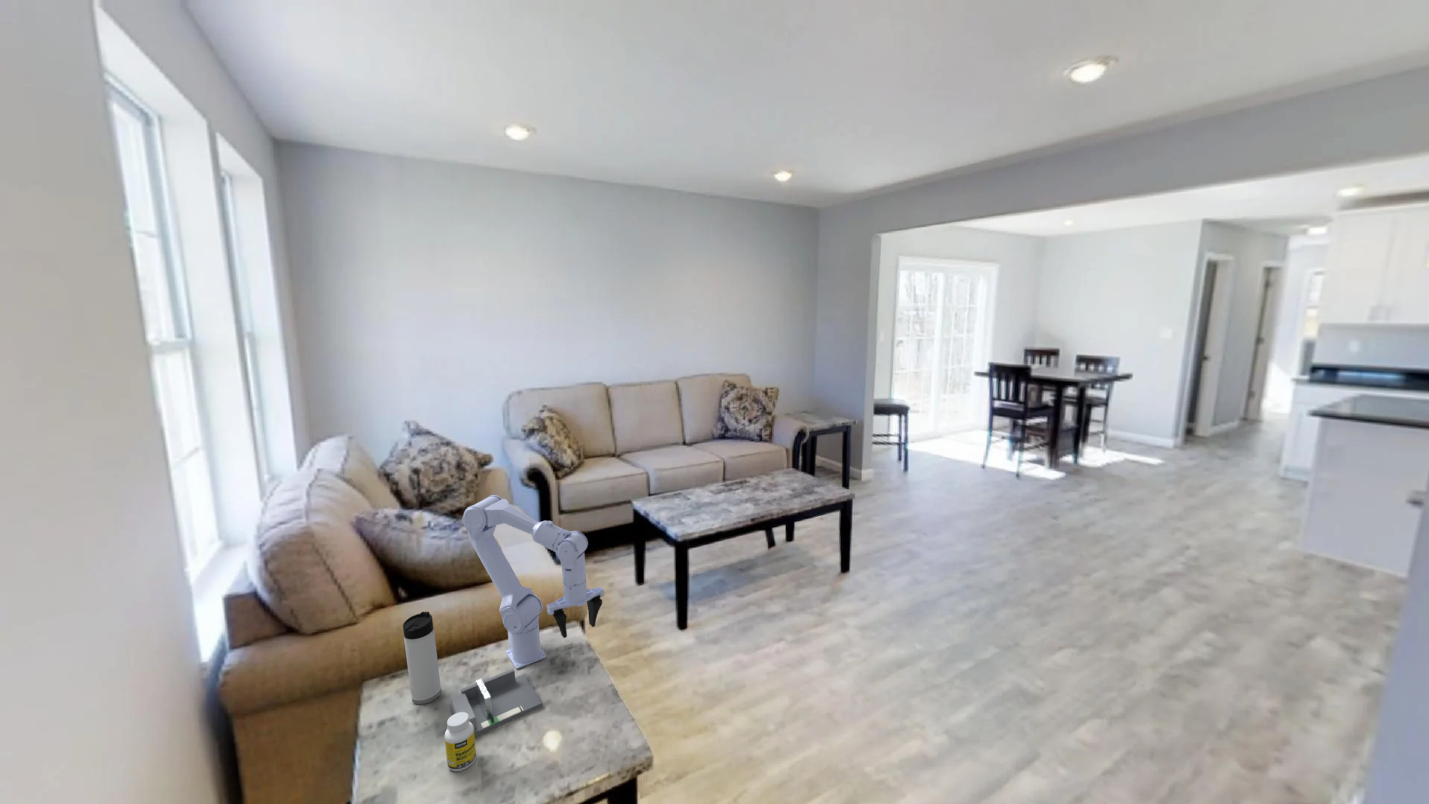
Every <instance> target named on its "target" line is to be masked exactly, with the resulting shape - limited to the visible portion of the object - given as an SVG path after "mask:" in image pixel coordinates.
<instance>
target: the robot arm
mask: <svg viewBox="0 0 1429 804" xmlns="http://www.w3.org/2000/svg"><path fill="white" fill-rule="evenodd" d="M461 523H462V524H463V527H465V530H466V531H467V537H468V540H469V542H470V544H471V546H472V548H473V549H474V552H475V553H476V554H477V556H478V558H479V560H480V561H481V564H482V565H483V567H484V570H486V573H487V574H488V576H489V577H490V579H491V581H492V583H493V585H494V586H495V588H496V590H497V592H498V593H499V596H500V597H501V602H500V605H499V613H500V615H501V618H502V624H503V627H504V628H505V629H506V630H507V637H508V638H507V639H508V649H505V654H506V655H507V656H508V658H509V660H510V661H511V663H512V664H513V666H514V668H515V669H516V670H519V669H520V668H524V667H526V666H529V665H531V664H534V663H536V662H538V661H541V660H543V659H546V658H547V654H546V653H545V651H544V650H543V649H542V647H541V637H540V624H539V619H540V614H541V613H542V612H543V608H544V606H543V602H542V600H541V599H540V597H539V596H537V595H536V594H535V593H534V592H533V590H532V588H531V587H526V586H522V583H521V582H520V580H519V578H518V577H517V575H516V573H515V572H514V570H513V567H512V566H511V564H510V561H508V559H507V558H506V555H505V554H504V552H503V550H502V548H501V547H500V544H499V543H498V541H497V540H496V537H495V536H494V534H495V531H496V528H497V526H498V525H499V526H500V525H502V524H503V525H504V524H505V525H507V526H509V527H512V528H515V529H518V530H519V531H521V532H524V533H527V534H529V535H531V537H532V540H533V542H535V543H537V544H538V545H541V546H543V547H545V548H546V549H549V550H551V551H553V552H555V555H556V557H557V558H558V559H559V561H560V566H561V572H562V573H561V576H562V585H563V586H562V587H563V596H561V597H560V598H559V599H556V600H555V601H552V602H551V603H549V604H546V611H547V614H548V615H550V616H552V617H553V618H554V619H555V622H556V623H557V625H558V628H559V631H560V635H561V636H562V638H563V639H565V638H567V637H568V631H567V615H566V613H565V611H564V610H565V609H568V608H572V607H577V608H578V607H579V608H580V607H582V606H585V605H586V604H587V605H586V606H587V610H588V623H589V625H590V626H591V627H592V628H595V627H596V621H597V617H598V615H599V614H598V613H599V611H600V609H601V607H602V605H603V600H602V598H603V597H605V590H604V588H603V587H601V586H598V587H595V588H590V589H588V587H587V585H588V584H587V573H586V572H587V571H586V559H585V558H586V557H585V551H586V550H587V548H588V546H589V541H588V538H587V536H585V534H583V533H582V532H581V531H580V530H572V531H570V530H569V529H565V528H562V527H560V526H558V525H555V524H554V522H553V521H551V520H543V521H537V520H536V519H534V518H532V517H531V516H529V515H528V514H525V513H524V512H522V511H520V510H519V509H518V508H515V507H513V506H512V505H510V503H509V500H508V499H505V498H503V497H501V496H499V495H497V494H491V495H489V496H488V497H486V498H484V499H482V500H480V501H479V502H477V503H475V504H472V505H470V506H468V507H467V508H466V509H464V512H463V515H462V517H461Z"/></svg>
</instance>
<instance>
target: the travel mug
mask: <svg viewBox="0 0 1429 804" xmlns="http://www.w3.org/2000/svg"><path fill="white" fill-rule="evenodd" d="M433 621H434V620H433V616H432V615H431V613H430V611H421V612H420V613H416V614H414V615H412V616H409V618H407V619H406V620H405V621H404V622H403V624H402V630H403V641H404V648H405V655H406V663H407V672H408V680H409V687H410V693H411V694H410V695H411V702H412V703H414V704H416V705H425V704H428V703H431V702H434V700H436V699H437V698H438V697H439V696H440V695H441V692H442V688H441V687H442V686H441V680H440V671H439V670H440V668H439V663H438V662H439V661H438V654H437V646H436V645H437V644H436V635H435V630H434V629H435V628H434V623H433Z"/></svg>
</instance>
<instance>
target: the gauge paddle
mask: <svg viewBox="0 0 1429 804" xmlns="http://www.w3.org/2000/svg"><path fill="white" fill-rule="evenodd" d="M482 679H483V678H478V679H476V680H475V684H476V687H477V696H478V700H479V702H480V705H481V707H482V709H483V711H484V713H485V715H486V717H487V718H489V719H490V721H491V723H493V722H494V719H493V717H492V716H493V715H492V705H491V697H490V695H489V693H488V691H487V689H486V687H485V685H484V683H483V680H482Z"/></svg>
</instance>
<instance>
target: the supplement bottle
mask: <svg viewBox="0 0 1429 804" xmlns="http://www.w3.org/2000/svg"><path fill="white" fill-rule="evenodd" d="M446 725H447V729H446V731H445V733H444V744H445V745H444V746H445V753H446V765H447V768H448V769H449V770H450V771H452V772H462V771H464V770H466V769H468V768H471V766H472V765H473V764H474V763H475V761H476V759H477V749H476V737H475V736H474V727H473V724H472V723H471V722H469V715H468V714H467V713H465V712H459V713H456V714H454V715H453V714H452V715H451V716H450V717H449V718H448V719H447V721H446Z"/></svg>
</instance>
